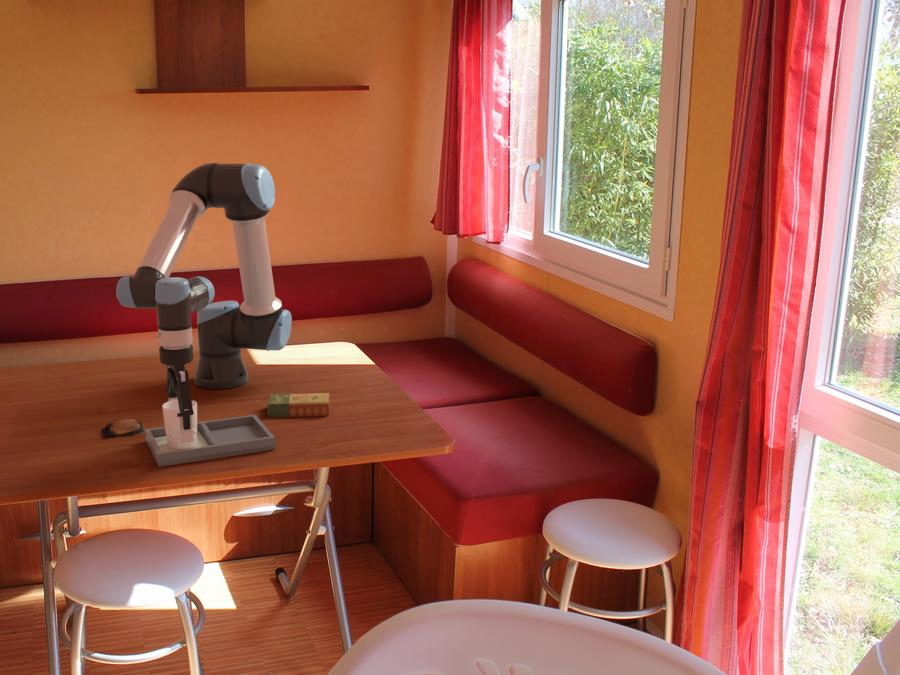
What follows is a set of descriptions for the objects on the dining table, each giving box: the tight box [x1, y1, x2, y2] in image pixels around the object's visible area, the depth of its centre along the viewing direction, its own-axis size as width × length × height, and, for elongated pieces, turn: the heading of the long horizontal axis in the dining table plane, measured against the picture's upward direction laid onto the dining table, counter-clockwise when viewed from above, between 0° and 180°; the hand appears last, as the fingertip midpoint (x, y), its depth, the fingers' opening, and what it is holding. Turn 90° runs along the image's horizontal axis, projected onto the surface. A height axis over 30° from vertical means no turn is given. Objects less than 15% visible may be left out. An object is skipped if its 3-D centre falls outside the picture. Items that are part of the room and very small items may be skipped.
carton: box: [266, 392, 331, 418], centre depth 261 cm, size 8×16×4 cm, turn 95°
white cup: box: [161, 399, 198, 449], centre depth 233 cm, size 8×8×10 cm
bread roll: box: [101, 418, 147, 440], centre depth 245 cm, size 11×8×4 cm
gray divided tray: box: [145, 414, 276, 468], centre depth 236 cm, size 18×27×3 cm, turn 115°
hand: (181, 432), depth 233 cm, fingers open, 13 cm apart
